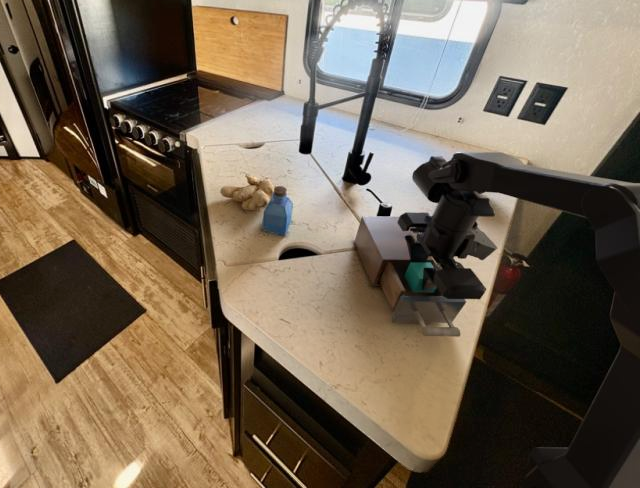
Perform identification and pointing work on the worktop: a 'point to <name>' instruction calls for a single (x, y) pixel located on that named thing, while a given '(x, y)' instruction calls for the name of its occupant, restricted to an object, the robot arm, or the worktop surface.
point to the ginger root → (251, 193)
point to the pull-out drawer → (418, 302)
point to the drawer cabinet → (381, 244)
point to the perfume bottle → (278, 212)
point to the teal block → (417, 276)
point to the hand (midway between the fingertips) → (420, 280)
